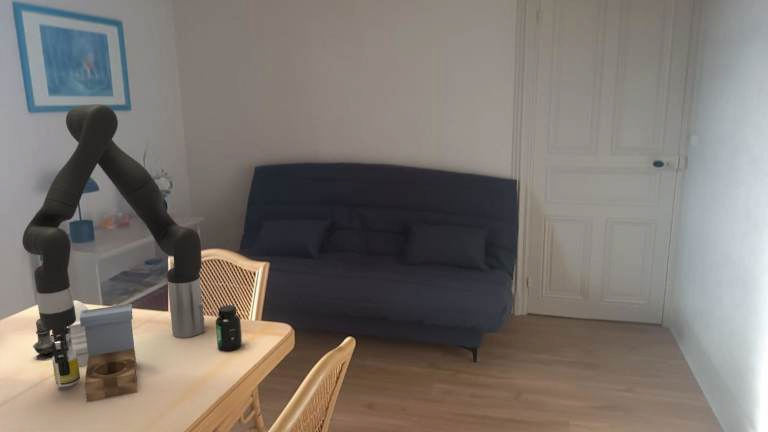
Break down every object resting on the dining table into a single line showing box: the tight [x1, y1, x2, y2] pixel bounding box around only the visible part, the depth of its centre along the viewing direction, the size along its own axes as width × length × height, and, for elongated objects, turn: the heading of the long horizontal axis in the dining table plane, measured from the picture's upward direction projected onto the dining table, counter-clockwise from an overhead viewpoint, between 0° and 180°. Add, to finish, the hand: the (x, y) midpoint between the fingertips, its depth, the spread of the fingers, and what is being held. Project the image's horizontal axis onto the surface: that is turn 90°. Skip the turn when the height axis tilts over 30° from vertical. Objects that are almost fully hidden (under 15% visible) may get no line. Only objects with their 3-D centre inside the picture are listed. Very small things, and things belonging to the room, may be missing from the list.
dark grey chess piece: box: [32, 318, 54, 361], centre depth 157 cm, size 6×6×12 cm
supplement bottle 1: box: [51, 343, 81, 388], centre depth 141 cm, size 5×5×10 cm
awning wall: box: [80, 303, 137, 360], centre depth 148 cm, size 12×5×17 cm, turn 114°
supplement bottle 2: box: [215, 304, 243, 353], centre depth 162 cm, size 7×7×12 cm
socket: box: [84, 349, 138, 403], centre depth 143 cm, size 11×15×5 cm
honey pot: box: [69, 299, 90, 368], centre depth 156 cm, size 13×13×18 cm
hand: (66, 369), depth 141 cm, fingers closed on supplement bottle 1, 5 cm apart
